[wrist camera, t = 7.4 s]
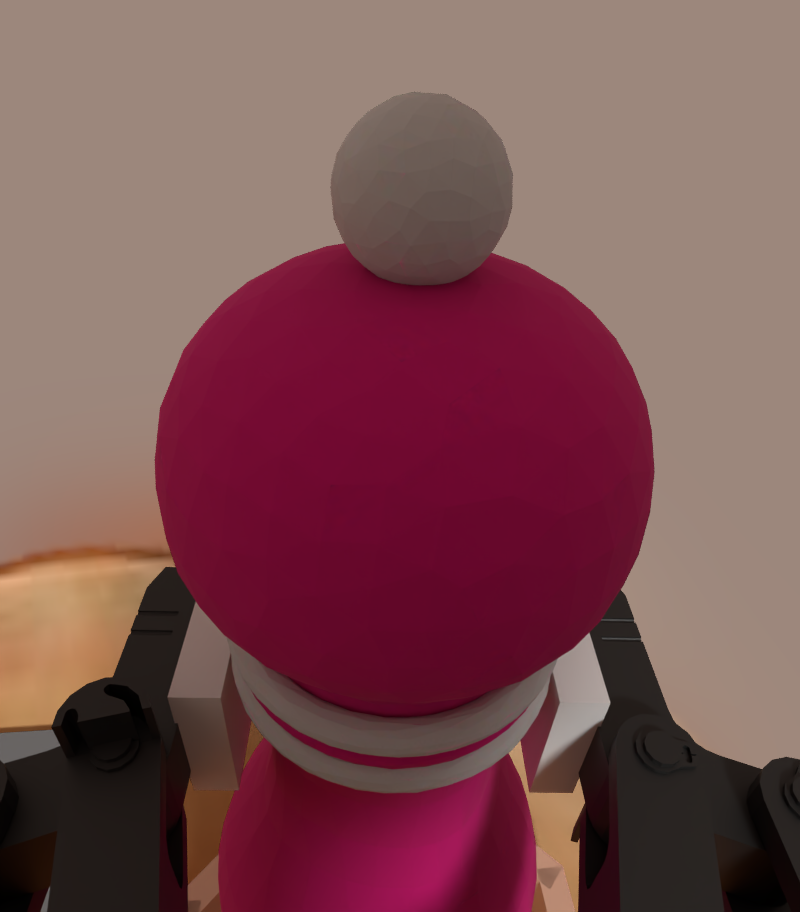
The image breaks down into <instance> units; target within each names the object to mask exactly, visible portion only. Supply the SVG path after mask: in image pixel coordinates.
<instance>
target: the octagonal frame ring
mask: <svg viewBox="0 0 800 912" xmlns="http://www.w3.org/2000/svg"><path fill="white" fill-rule="evenodd" d="M218 861H219V854H218V855H217V856H216V857H215V858H214V859H213V860H212V861H211V862H210V863H209V864H208V865H207V866H206V867H205V868H204V869H203V870H202V871H201V872H200V873H199V874H198V875H197V876H196V877H195V878H194V879H193V880H192V882H191V883H190V884H189V885H188V912H221V905H220V896H219V884H218ZM536 863H537V880H536V887H535V893H534V899H533V905H532V912H575V909H574V905H573V901H572V898H571V894H570V890H569V887H568V883H567V879H566V875H565V872H564V868H563V866H562V865H561V864H560V863H558V862H557V861H556V860H555V859H553V858H552V857H551V856H550V855H548V854H547V853H546V852H545V851H543V850H542V849H541V848H540V847H538V846H537V845H536Z"/></svg>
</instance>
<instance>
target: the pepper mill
mask: <svg viewBox="0 0 800 912" xmlns="http://www.w3.org/2000/svg"><path fill="white" fill-rule="evenodd" d="M512 179H513V173H512V170H511V167H510V163H509V160H508V157H507V154H506V150H505V148H504V145H503V142H502V140H501V138H500V137H499V136H498V135H497V133H496V132H495V131H494V130H493V128H492V127H491V126H490V124H489V123H488V122H487V121H486V119H485V118H484V117H482V116H481V115H480V114H479V113H478V112H477V111H476V110H474V109H472V108H470V107H468V106H466V105H465V104H463V103H461V102H459V101H458V100H456V99H454V98H452V97H450V96H449V95H446V94H433V93H420V92H411V93H407V94H402V95H398V96H394V97H392V98H390V99H389V100H387V101H385V102H383V103H382V104H380V105H378V106H376V107H374V108H373V109H371V110H370V111H369V112H367V113H366V114H365V115H364V116H363V117H362V118H361V119H360V120H359V121H358V122H357V123H356V124H355V126H354V127H353V128H352V130H351V131H350V132H349V134H348V135H347V136H346V138H345V140H344V142H343V143H342V145H341V147H340V149H339V151H338V152H337V156H336V159H335V164H334V168H333V172H332V178H331V196H332V205H333V215H334V220H335V223H336V225H337V227H338V230H339V232H340V235H341V237H342V239H343V241H344V244H338V245H332V246H326V247H323V248H320V249H317V250H314V251H312V252H308V253H306V254H303V255H300V256H297V257H294V258H292V259H290V260H288V261H286V262H284V263H282V264H281V265H279V266H277V267H275V268H273V269H271V270H269V271H267V272H265V273H264V274H262V275H260V276H258V277H256V278H254V279H252V280H251V281H249V282H247V283H246V284H245V285H244V286H242V287H241V288H240V289H238V290H237V291H236V292H235V293H234V294H232V295H231V296H230V297H228V298H227V299H226V300H225V301H224V302H223V303H222V304H221V305H220V306H219V307H218V308H217V310H216V311H215V312H214V313H213V314H212V315H211V316H210V317H209V318H208V319H207V320H206V321H205V323H204V324H203V325H202V326H201V328H200V329H199V330H198V332H197V333H196V334H195V336H194V337H193V338H192V340H191V341H190V342H189V344H188V345H187V346H186V348H185V349H184V350H183V353H182V355H181V358H180V360H179V363H178V365H177V368H176V370H175V373H174V375H173V378H172V380H171V382H170V385H169V387H168V390H167V392H166V395H165V397H164V400H163V402H162V405H161V407H160V414H159V424H158V434H157V444H156V453H155V478H156V491H157V496H158V501H159V506H160V511H161V516H162V521H163V525H164V530H165V535H166V539H167V542H168V545H169V548H170V551H171V554H172V557H173V560H174V563H175V566H176V569H177V572H178V574H179V576H180V577H181V579H182V581H183V582H184V584H185V585H186V587H187V588H188V590H189V591H190V593H191V595H192V596H193V598H194V599H195V601H196V602H197V604H198V606H199V607H200V608H201V609H202V611H203V612H204V613H205V614H206V615H207V616H208V617H209V619H210V620H211V621H212V622H213V623H214V624H215V625H216V627H217V628H218V629H219V630H220V631H221V632H222V633H223V635H225V636H226V637H227V641H228V645H229V649H230V652H231V655H232V671H233V675H234V679H235V683H236V687H237V689H238V692H239V695H240V698H241V700H242V703H243V705H244V708H245V710H246V712H247V714H248V716H249V717H250V719H251V720H252V722H253V723H254V725H255V726H256V727H257V729H258V730H259V732H260V733H261V735H262V736H263V737H264V738H263V740H262V741H261V742H260V744H259V745H258V746H257V748H256V749H255V751H254V752H253V754H252V756H251V758H250V759H249V761H248V763H247V765H246V766H245V768H244V770H243V773H242V776H241V782H240V788H239V790H235V792H234V794H233V797H232V800H231V803H230V806H229V809H228V812H227V815H226V818H225V821H224V824H223V830H222V835H221V841H220V846H219V861H218V884H219V896H220V905H221V912H532V905H533V899H534V893H535V887H536V880H537V863H536V842H535V836H534V831H533V825H532V819H531V815H530V810H529V806H528V801H527V798H526V794H525V791H524V788H523V785H522V781H521V778H520V776H519V774H518V772H517V770H516V768H515V766H514V764H513V761H512V759H511V757H510V755H509V754H508V753H509V752H510V751H511V750H512V749H513V748H514V747H515V746H516V745H517V744H518V742H519V741H520V740H521V739H522V738H523V737H524V736H525V734H526V732H527V731H528V729H529V728H530V726H531V725H532V723H533V722H534V720H535V719H536V717H537V716H538V714H539V711H540V709H541V707H542V705H543V703H544V700H545V698H546V696H547V692H548V687H549V682H550V676H551V674H552V672H553V670H554V667H555V665H556V662H557V659H558V658H559V657H561V656H562V655H564V654H565V653H567V652H569V651H570V650H572V649H573V648H574V647H575V646H576V645H577V644H578V643H579V642H580V641H581V640H582V639H583V638H584V637H585V636H586V635H587V634H588V633H589V632H590V631H591V630H592V629H593V628H594V627H595V626H596V625H597V624H598V623H599V622H600V621H601V619H602V618H603V616H604V615H605V613H606V612H607V610H608V608H609V607H610V605H611V604H612V602H613V601H614V599H615V598H616V596H617V594H618V593H619V591H620V590H621V588H622V587H623V585H624V583H625V581H626V579H627V577H628V575H629V573H630V571H631V569H632V567H633V565H634V563H635V560H636V558H637V557H638V555H639V551H640V547H641V544H642V540H643V536H644V532H645V529H646V525H647V521H648V517H649V514H650V508H651V498H652V489H653V480H654V458H653V443H652V430H651V425H650V420H649V415H648V409H647V404H646V401H645V399H644V396H643V394H642V391H641V389H640V386H639V384H638V381H637V379H636V376H635V374H634V371H633V368H632V366H631V365H630V363H629V361H628V359H627V358H626V356H625V354H624V352H623V350H622V349H621V347H620V345H619V344H618V342H617V340H616V338H615V337H614V336H613V335H612V334H611V333H610V332H609V330H608V329H607V328H606V327H605V326H604V325H603V323H602V322H601V321H600V320H599V319H598V318H597V317H596V316H595V315H594V313H593V312H592V311H591V310H590V309H588V308H587V307H586V306H585V305H584V304H583V303H582V302H580V301H579V300H578V299H577V298H576V297H574V296H573V295H572V294H571V293H570V292H569V291H567V290H566V289H565V288H564V287H562V286H560V285H559V284H557V283H555V282H553V281H552V280H550V279H548V278H546V277H545V276H543V275H542V274H540V273H538V272H536V271H535V270H533V269H531V268H530V267H528V266H526V265H523V264H520V263H518V262H515V261H512V260H509V259H507V258H504V257H501V256H499V255H496V254H493V253H491V252H492V251H493V249H494V248H495V247H496V245H497V243H498V241H499V240H500V238H501V236H502V234H503V233H504V231H505V229H506V227H507V224H508V220H509V217H510V213H511V209H512Z"/></svg>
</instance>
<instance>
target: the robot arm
mask: <svg viewBox="0 0 800 912" xmlns="http://www.w3.org/2000/svg"><path fill="white" fill-rule="evenodd" d="M250 725H251V719H250V717H249V716H248V714H247V712H246V710H245V708H244V705H243V703H242V700H241V698H240V695H239V692H238V689H237V687H236V683H235V679H234V675H233V671H232V655H231V652H230V649H229V645H228V641H227V637H226V636H225V635H223V633H222V632H221V631H220V630H219V629H218V628H217V627H216V625H215V624H214V623H213V622H212V621H211V620H210V619H209V617H208V616H207V615H206V614H205V613H204V612H203V611H202V609H201V608H200V607H199V606H198V604H197V602H196V601H195V599H194V598H193V596H192V595H191V593H190V591H189V590H188V588H187V587H186V585H185V584H184V582H183V581H182V579H181V577H180V576H179V574H178V572H177V569H176V567H165V568H164V570H163V571H162V572H161V573H160V574H159V575H158V576H157V577H156V578H155V579H154V580H153V581H152V583H151V584H150V585H149V586H148V587H147V589H146V592H145V594H144V597H143V599H142V602H141V605H140V607H139V610H138V615H136V618H135V620H134V623H133V626H132V628H131V634H130V635H129V636H128V639H127V641H126V644H125V647H124V649H123V652H122V655H121V657H120V660H119V663H118V665H117V668H116V670H115V673H114V676H113V677H110V678H103V679H100V680H97V681H94V682H91V683H89V684H86V685H85V686H83V687H82V688H80V689H79V690H78V691H76V692H75V693H73V694H72V695H70V696H69V698H68V699H67V700H66V701H65V702H64V704H63V705H62V706H61V707H60V708H59V710H58V711H57V714H56V716H55V719H54V722H53V725H52V727H51V728H52V730H53V732H54V734H55V736H56V738H57V740H58V742H59V744H60V746H58V747H56V748H53V749H51V750H48V751H45V752H42V753H38V754H35V755H31V756H28V757H24V758H21V759H18V760H14V761H11V762H7V763H3V762H2V761H1V760H0V912H41V909H42V906H43V903H44V900H45V897H46V894H47V892H48V889H49V887H50V892H49V900H48V908H47V912H188V875H187V820H186V815H185V810H184V806H183V803H184V798H185V794H186V790H187V786H188V782H189V778H191V782H192V785H193V789H194V790H239V788H240V782H241V776H242V771H243V765H244V759H245V754H246V748H247V742H248V737H249V731H250ZM521 746H522V752H523V758H524V764H525V769H526V775H527V781H528V787H529V792H537V793H573V791H574V788H575V786H576V784H577V781H578V779H579V778H580V782H581V786H582V790H583V795H584V799H585V804H584V806H583V809H582V811H581V813H580V815H579V817H578V820H577V822H576V824H575V826H574V829H573V833H572V837H571V841H573V842H578V840H579V838H580V849H579V902H578V912H800V760H799V759H794V758H789V757H784V758H779V759H774V760H772V761H771V762H769V763H768V764H767V765H766V766H765V767H764V768H763V769H759V768H756V767H753V766H750V765H747V764H744V763H741V762H737V761H735V760H731V759H728V758H725V757H722V756H719V755H717V754H715V753H712V752H710V751H707V750H706V749H704V748H702V747H701V746H699V745H698V744H696V743H695V742H694V740H693V739H692V738H691V736H690V735H689V734H688V733H687V732H686V731H685V730H684V729H682V728H681V727H680V726H678V725H677V724H676V723H675V722H674V720H673V718H672V716H671V714H670V712H669V710H668V708H667V705H666V702H665V700H664V697H663V695H662V692H661V689H660V686H659V684H658V681H657V678H656V676H655V673H654V670H653V668H652V665H651V662H650V660H649V657H648V654H647V652H646V649H645V647H644V644H643V642H641V636H640V633H639V630H638V628H637V625H636V623H634V617H633V615H632V612H631V609H630V606H629V604H628V601H627V598H626V596H625V594H624V593H623V592H622V591H621V590H620V591H619V593H618V594H617V596H616V598H615V599H614V601H613V602H612V604H611V605H610V607H609V608H608V610H607V612H606V613H605V615H604V616H603V618H602V619H601V621H600V622H599V623H598V624H597V625H596V626H595V627H594V628H593V629H592V630H591V631H590V632H589V633H588V634H587V635H586V636H585V637H584V638H583V639H582V640H581V641H580V642H579V643H578V644H577V645H576V646H575V647H574V648H573V649H572V650H570V651H569V652H567V653H565V654H564V655H562V656H561V657H559V658H558V659H557V662H556V665H555V667H554V670H553V672H552V674H551V676H550V682H549V687H548V692H547V696H546V698H545V700H544V703H543V705H542V707H541V709H540V711H539V714H538V716H537V717H536V719H535V720H534V722H533V723H532V725H531V726H530V728H529V729H528V731H527V732H526V734H525V736H524V737H523V738H522V739H521Z"/></svg>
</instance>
